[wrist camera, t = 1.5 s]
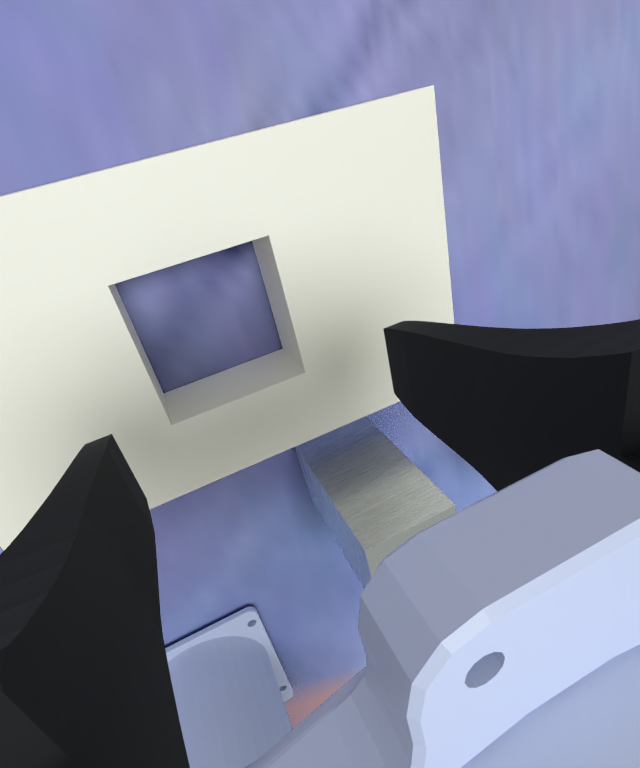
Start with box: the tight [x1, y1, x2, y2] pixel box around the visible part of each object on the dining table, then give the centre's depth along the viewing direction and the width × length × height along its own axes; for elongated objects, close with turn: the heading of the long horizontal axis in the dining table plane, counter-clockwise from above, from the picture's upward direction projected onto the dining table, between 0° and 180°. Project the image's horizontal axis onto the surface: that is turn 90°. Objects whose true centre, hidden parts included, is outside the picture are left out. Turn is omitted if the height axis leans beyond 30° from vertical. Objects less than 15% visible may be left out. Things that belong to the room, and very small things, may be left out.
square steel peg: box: [295, 416, 456, 588], centre depth 22 cm, size 4×4×8 cm
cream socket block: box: [0, 85, 454, 550], centre depth 19 cm, size 12×20×3 cm, turn 104°
